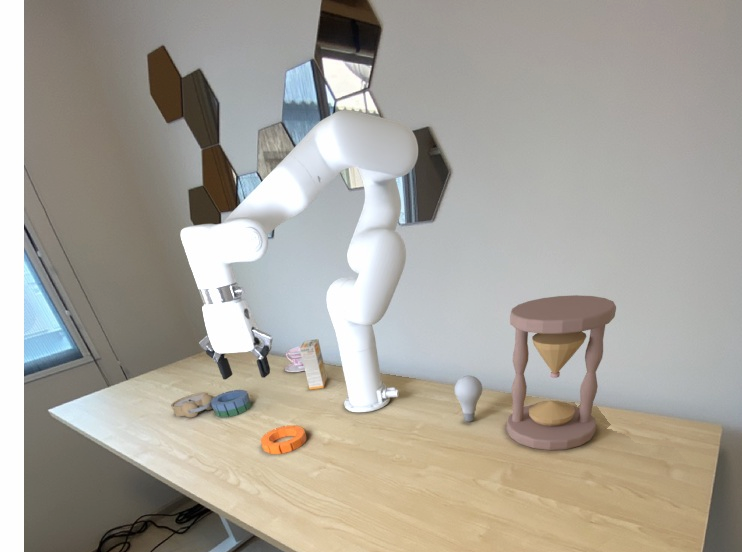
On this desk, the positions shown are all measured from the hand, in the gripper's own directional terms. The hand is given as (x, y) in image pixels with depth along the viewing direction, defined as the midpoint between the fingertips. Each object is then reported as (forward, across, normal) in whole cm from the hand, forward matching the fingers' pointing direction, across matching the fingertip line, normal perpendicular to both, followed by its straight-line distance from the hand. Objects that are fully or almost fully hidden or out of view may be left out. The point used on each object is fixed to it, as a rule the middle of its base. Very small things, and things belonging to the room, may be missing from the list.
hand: (246, 376), depth 93 cm
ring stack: (+17, +21, -20) cm, 34 cm away
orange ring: (+17, -5, +1) cm, 18 cm away
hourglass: (+16, -66, -3) cm, 68 cm away
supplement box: (+16, -1, -36) cm, 40 cm away
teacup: (+16, +12, -54) cm, 58 cm away
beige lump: (+17, +34, -20) cm, 43 cm away
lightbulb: (+16, -49, -8) cm, 52 cm away
